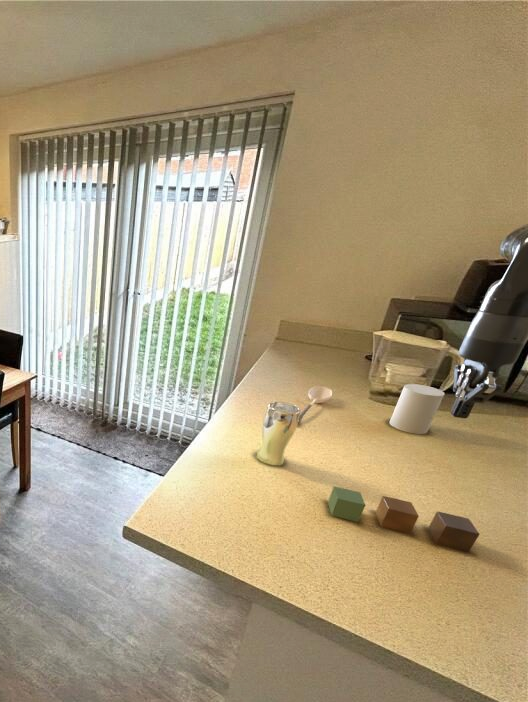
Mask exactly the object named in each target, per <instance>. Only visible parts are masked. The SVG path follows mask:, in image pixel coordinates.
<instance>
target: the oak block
mask: <svg viewBox="0 0 528 702" xmlns="http://www.w3.org/2000/svg"><path fill="white" fill-rule="evenodd" d="M375 515H376V517H377V520H378V522H379V525H380V527H383V528H385V529H386V528H387V529H391V530H395V531H398V532H402V533H406V534H411V533H412V531H413V529H414V528H415V525H416V523H417V521H418V519H419V514H418V512H417V510H416V508H415V506H414V505H413V502H411V501H408V500H403V499H399V498H395V497H391V496H386V495H382V497H381V499H380V501H379V503H378V506H377V508H376V510H375Z"/></svg>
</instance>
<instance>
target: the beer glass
mask: <svg viewBox="0 0 528 702" xmlns="http://www.w3.org/2000/svg"><path fill="white" fill-rule="evenodd" d="M300 414H301V409H300V407H298V406H297V405H295V404H292V403H289V402H285V401H271V402H269V403H268V406H267V409H266V411H265V414H264V418H263V422H262V433H261V443H260V447H259V448H258V451H257V452H256V458H257V459H258V460H259V461H260V462H262V463H264V464H267V465H270V466H281V465H283V464H284V463H285V455H286V454H285V453H286V450H287V447H288V445H289V444H290V442H291V440H292V438H293V437H294V435H295V434H296V433H295V432H296V430H297V428H298V425H299V424H298V421H299V415H300ZM297 424H298V425H297Z"/></svg>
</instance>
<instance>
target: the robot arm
mask: <svg viewBox="0 0 528 702" xmlns="http://www.w3.org/2000/svg"><path fill="white" fill-rule="evenodd" d="M499 254H500V256H501V257H502V258H503V259H504V260H506V261H507V262H510V264H509V265H508V267H507V269H506V271H505V273H504V274H503V276H502V278H501V279H498V280H496V281H494V282H493V283H491V285H490V286H489V287H488V289H487V291H486V292H485V295H484V298H483V299H482V302H481V304H480V306H479V309H478V310H477V312H476V314H475V316H474V317H473V319H472V321H471V322H470V324H469V327H468V329H467V331H466V333H465V336H464V338H463V341H462V343H461V345H460V347H459V350H458V352H457V354H458V356H459V357H461V358H463V359H465V360H464V361H463V364H456V365H454V368H453V385H452V390H453V392H455V398H456V399H455V401H454V403H453V405H452V407H451V410H450V412H449V413H450V414H451V415H452V416H453V417H454V418H459V419H468V418H469V416H470V414H471V412H472V410H473V408H474V407H475V406H474V405H475V404H484V403H485V402H487V401H488V400H490V399H491V398H493V397H494V396H495V395H497V394H498V393H500V392H501V391H502V388H503V387H502V384H501V385H500V384H496V380H497V379H498V377H499V375H500V371H501V367H503V366H509V365H514V364H515V363H516V362H517V360H518V358H519V356H520V354H521V352H522V350H523V349H524V347H525V344H526V342H527V340H528V223H526V224H524V225H521V226H520V227H518V228H515V229H513V230H512V231H511V232H509V233H508V234H507V235H506V236H505V237H504V238H503V239H502V241H501V243H500V246H499Z"/></svg>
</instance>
